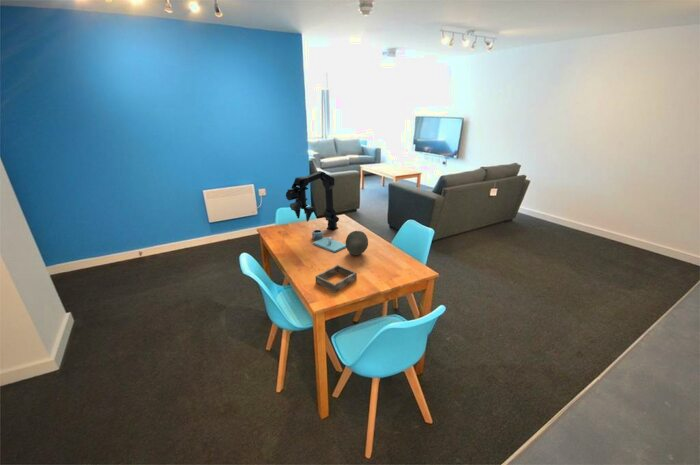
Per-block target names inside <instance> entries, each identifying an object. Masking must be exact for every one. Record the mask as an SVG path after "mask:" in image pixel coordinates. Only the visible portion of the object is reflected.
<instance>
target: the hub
mask: <svg viewBox="0 0 700 465" xmlns="http://www.w3.org/2000/svg"><path fill="white" fill-rule="evenodd" d="M323 232H324V231H323V230H322V229H313V230H312V231H311V236H312V238H311V239H312V240H314V241H318V240H320V239H322V238H324V236H323V235H324V234H323Z"/></svg>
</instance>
